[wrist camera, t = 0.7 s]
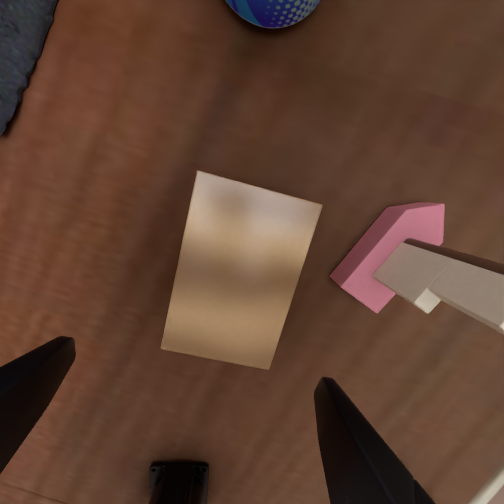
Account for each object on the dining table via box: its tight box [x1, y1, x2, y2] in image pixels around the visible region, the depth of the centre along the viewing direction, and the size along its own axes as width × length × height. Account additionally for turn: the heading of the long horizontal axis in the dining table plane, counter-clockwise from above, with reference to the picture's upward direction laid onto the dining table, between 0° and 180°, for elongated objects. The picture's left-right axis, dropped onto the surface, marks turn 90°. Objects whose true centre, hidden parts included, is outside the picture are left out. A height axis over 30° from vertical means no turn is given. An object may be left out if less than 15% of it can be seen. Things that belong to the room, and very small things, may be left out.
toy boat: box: [330, 202, 504, 334], centre depth 17 cm, size 10×4×13 cm, turn 144°
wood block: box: [161, 170, 322, 370], centre depth 21 cm, size 14×9×4 cm, turn 165°
